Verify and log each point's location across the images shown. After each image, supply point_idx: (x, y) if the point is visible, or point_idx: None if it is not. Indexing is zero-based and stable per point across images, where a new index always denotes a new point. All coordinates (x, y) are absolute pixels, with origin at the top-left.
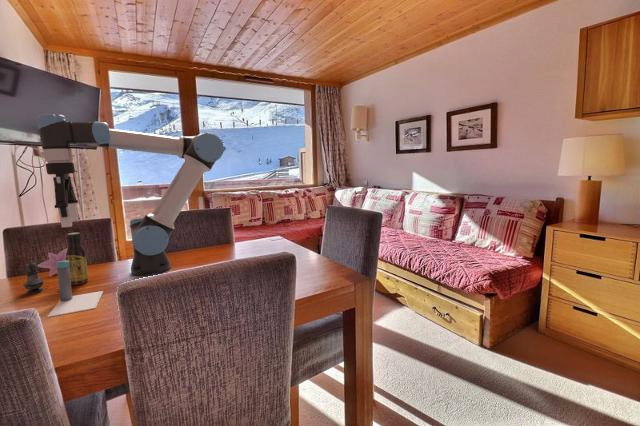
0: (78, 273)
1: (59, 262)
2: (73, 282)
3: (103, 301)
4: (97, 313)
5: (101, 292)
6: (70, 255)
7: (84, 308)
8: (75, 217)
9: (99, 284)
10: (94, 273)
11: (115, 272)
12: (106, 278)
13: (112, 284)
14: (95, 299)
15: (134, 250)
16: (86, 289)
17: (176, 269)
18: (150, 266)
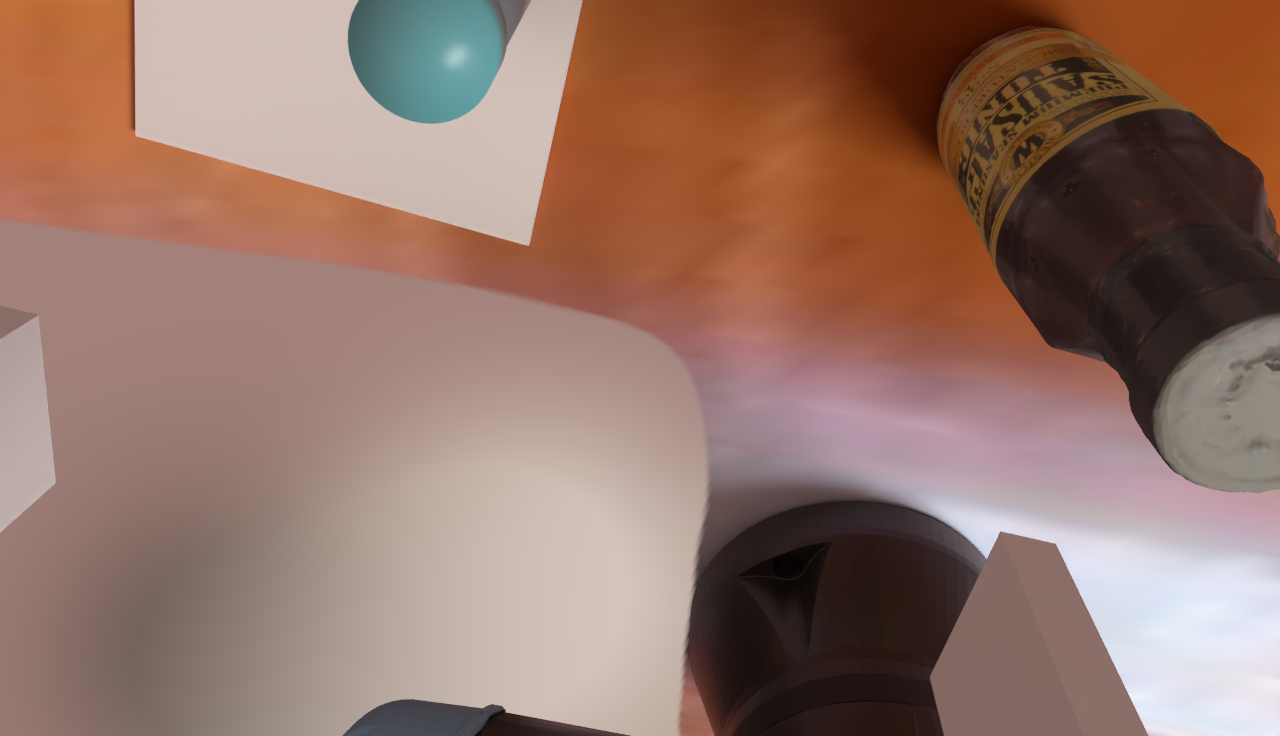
0: (951, 147)
1: (354, 10)
2: (965, 66)
3: (272, 203)
4: (29, 130)
5: (490, 227)
6: (1035, 168)
7: (162, 67)
8: (971, 715)
9: (782, 251)
10: None
11: (1070, 421)
12: (932, 328)
13: (684, 331)
14: (334, 163)
15: (860, 701)
16: (718, 141)
17: (688, 726)
18: (702, 641)
